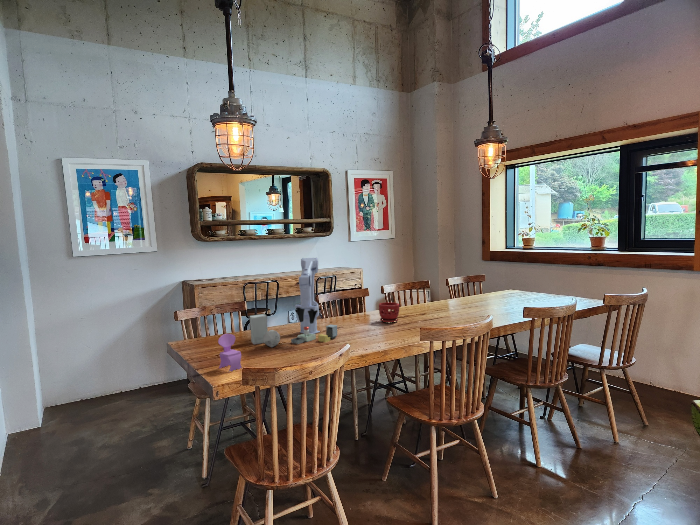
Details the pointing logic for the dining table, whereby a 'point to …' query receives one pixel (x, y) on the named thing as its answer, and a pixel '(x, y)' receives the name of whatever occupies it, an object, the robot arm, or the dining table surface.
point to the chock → (323, 338)
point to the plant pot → (389, 315)
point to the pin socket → (297, 340)
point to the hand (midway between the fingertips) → (306, 322)
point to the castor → (331, 331)
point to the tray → (310, 338)
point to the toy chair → (229, 353)
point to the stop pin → (306, 331)
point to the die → (271, 338)
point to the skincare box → (258, 328)
